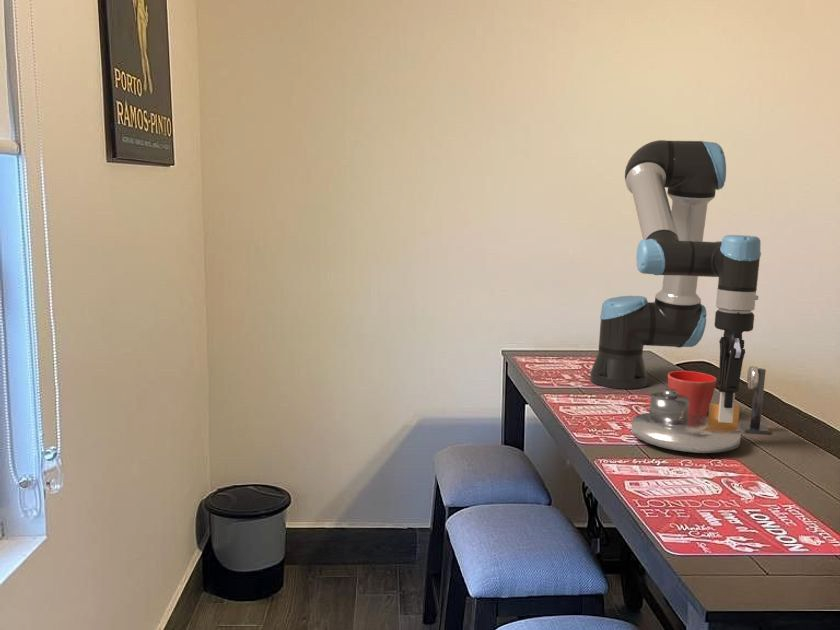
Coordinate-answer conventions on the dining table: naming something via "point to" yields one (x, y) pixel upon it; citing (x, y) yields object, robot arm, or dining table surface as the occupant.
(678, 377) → the flower pot
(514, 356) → the dining table surface
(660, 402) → the cover
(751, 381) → the dial post
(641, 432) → the turntable
